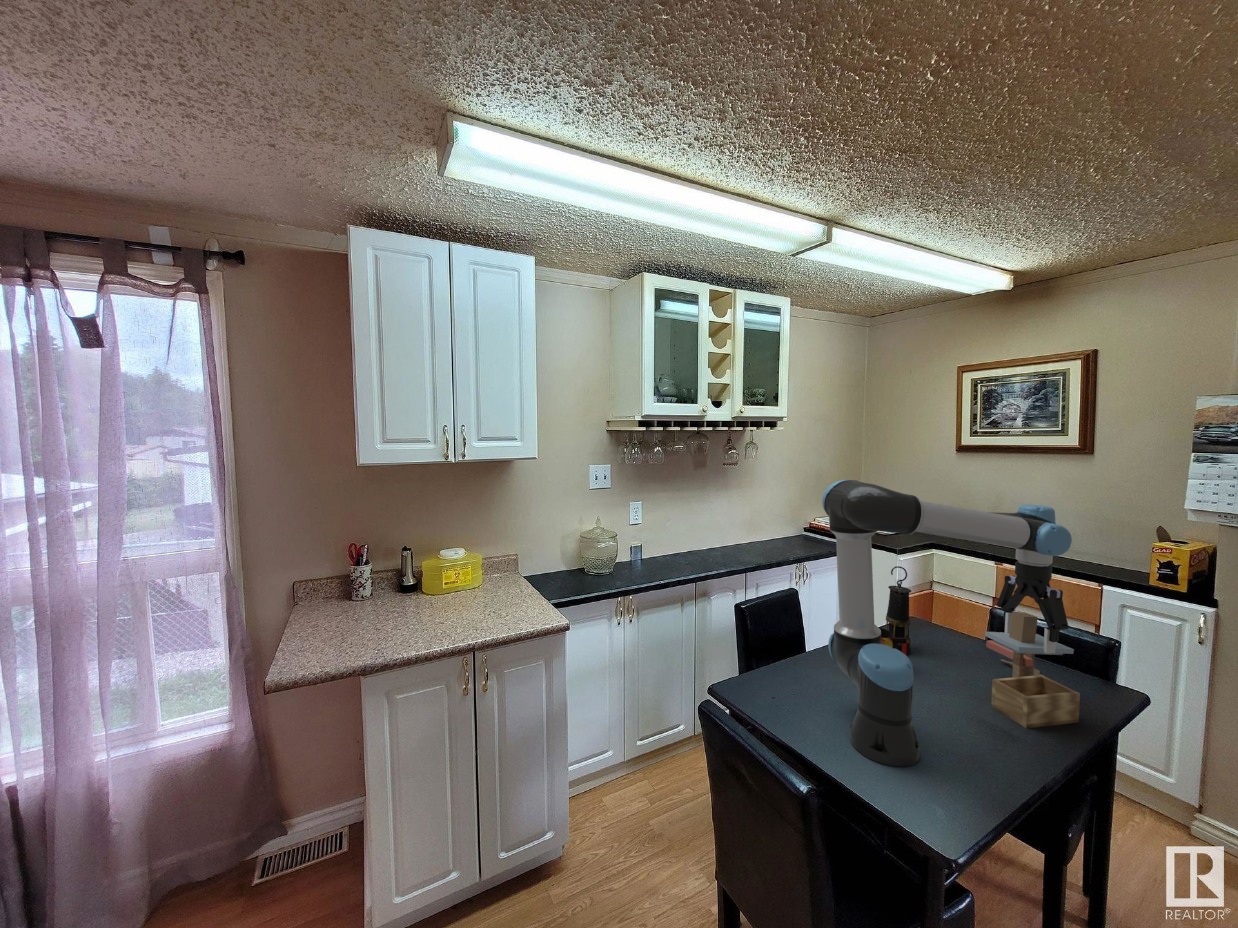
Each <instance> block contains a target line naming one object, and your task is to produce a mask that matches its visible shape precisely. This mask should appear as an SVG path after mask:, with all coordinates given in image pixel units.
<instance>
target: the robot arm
mask: <svg viewBox="0 0 1238 928" xmlns="http://www.w3.org/2000/svg"><path fill="white" fill-rule="evenodd" d="M821 504H822V508H823V510H824V512H825V513H826V515H827V516H828V521H829V532H831V533H832V534H833V535H834V537H835V539H836V540H835V543H836V544H835V545H836V566H837V567H836V569H837V591H838V593H837V594H838V615H839V620H838V621H837V622H836V623H835V624H834V625H833V633H832V634H830V636H829V638H828V644H827V645H828V652H829V655H830V657H831V659H832V660H833V662H834V663H835V666H837V668H839V669H840V670H841V671H842V672H843V673H844V674H845V675H846V676H847V677H848V679H849V680H851V681H852V682H853V684H854V685H855V686H856V687H857V691H858V692H857V711H856V713H855V716H854V719H853V722H852V723H851V724H850V728H849V741H850V743H851V745H852V746H853V748H854V749H856V751H858V752H859V754H861V755H862V756H864V757H867V759H870V760H872V761H875V762H876V763H879V764H883V765H886V766H892V767H909V766H913V765H915V764H916V763H918V762H919V760H920V756H921V755H920V753H921V752H920V751H921V750H920V743H919V741H918V740H919V739H918V738H917V734H916V731H915V728H914V725H913V699H914V698H913V697H914V695H913V693H914V682H915V675H914V666H913V663H912V661H911V660H910V658H909V657H908V655H907V656H906V655H905V654H904V653H902V652H901V651H899V650H897V649H892V648H891V647H890V646H887V645H883V644H882V642H881V630H880V629H879V628H880V627H879V628H878V626H877V624H875V608H874V607H875V605H874V579H873V576H874V575H873V553H872V552H873V551H872V549H873V548H872V537H873V536H874V535H875V534H876V533H877V532H882V533H883V532H886V533H894V534H902V535H913V534H914V533H923V534H927V535H928V534H929V535H935V536H940V537H945V538H952V539H957V540H958V539H959V540H966V541H969V542H975V543H982V544H986V545H987V544H988V545H989V544H990V545H994V546H995V545H996V546H1000V547H1006V548H1012V549H1015V560H1017V561H1015V563H1014V575H1004V584H1003V587H1002V589H1001V592H1000V595H999V597H998V599H997V601H996V602H997V603H996V606H997V607H998V608H1000V609H1002V611H1003V618H1002V619H1003V620H1002V621H1003V623H1004V633H1010V626H1011V618H1012V612H1015V611H1016V608H1017V607H1018V606H1019V605H1020V604H1021V602H1022V601H1023V600H1024V598H1026V597H1029V598H1031V599H1032V600H1034V602H1035V603H1036V604H1037V605H1038V608H1039V610H1040V612H1041V614H1042V616H1043V619H1044V621H1045V623H1046V625H1047V627H1044V633H1043V634H1044V635H1043V637H1044V647H1043V652H1044V653H1046V654H1045V655H1048V654H1047V653H1055V647H1056V642H1057V643H1059V641H1060V639H1059V638H1060V631H1064V630H1069V628H1070V627H1069V622H1068V619H1067V614H1066V611H1065V605H1064V601H1063V595H1064V591H1063V590H1062V589H1056V588H1052V587H1051V585H1050V581H1051V580H1052V578H1053V577H1052V576H1053V566H1052V564H1053V558H1054V557H1058V556H1062V555H1064V554H1065V553H1066V552H1068V551H1069V549H1070V548H1071V546H1072V541H1073V539H1072V538H1073V537H1072V533H1071V532H1070V531H1069V530H1068V529H1067V528H1066V527H1064V526H1062V525H1060V524H1057V522H1056V511H1055V509H1054V508H1053V507H1051V506H1048V505H1039V504H1020V505H1019V506H1018V510H1017V512H990V511H985V510H984V511H982V510H976V509H972V508H964V507H959V506H952V505H948V504H942V503H935V502H931V501H930V502H929V501H923V500H921V499H920V498H919V497H918V496H917V495H915V494H907V493H902V492H899V491H896V490H892V489H890V488H887V487H883V486H880V485H877V484H874V483H870V482H869V483H867V482H863V481H859V480H857V479H840V480H837V481H834V482H833V483H831V484H830V485H829V486H828V487H827V489H825V491H824V492H823V495H822V499H821ZM1015 575H1016V576H1015ZM1016 586H1017V587H1016Z"/></svg>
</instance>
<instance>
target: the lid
mask: <svg viewBox="0 0 1238 928" xmlns="http://www.w3.org/2000/svg"><path fill="white" fill-rule="evenodd" d="M1037 626H1038V616H1036V615H1033V614H1030V613H1027V612H1019V611H1012V618H1011V626H1010V633H1005V632H1001V631H999V632H997V631H985V634H984V636H985V637H986V638H989V639H990V640H993V641H994V642H995V643H997V644H999V645H1002V646H1004V647H1006V648H1008V649H1010V650H1012V651H1014V652H1016V653H1024V655H1025V654H1035V655H1050V656H1052V655H1054V656H1055V655H1056V656H1063V655H1065V654H1068V655H1074V651H1075V649H1074V648H1072V647H1069V646H1067V645H1065V644H1062V643H1059V642H1056V647H1055V653H1047V654H1046V653H1044V652H1043V647H1044V635H1043V636H1042V635H1041V634H1038V633H1037Z"/></svg>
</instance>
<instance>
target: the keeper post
mask: <svg viewBox="0 0 1238 928" xmlns="http://www.w3.org/2000/svg"><path fill="white" fill-rule="evenodd" d="M1024 655H1025V656H1027V657H1029V658H1032V659H1033V666H1025V665H1023V657H1024ZM1035 657H1036V654H1024V653H1016V652H1014V651H1013V660H1012V662H1013V666H1012V677H1024V676H1034V669H1035V662H1036V660H1035V659H1036V658H1035ZM1012 677H1011V678H1012Z"/></svg>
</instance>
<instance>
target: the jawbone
mask: <svg viewBox="0 0 1238 928" xmlns="http://www.w3.org/2000/svg"><path fill="white" fill-rule="evenodd" d="M1000 661H1001V662H1004V663H1007V664H1009V665H1010V666H1011V667H1013V661H1008V660H1004V659H1002V658H1001V659H1000ZM1035 675H1042V674H1041V671H1040V670H1039V669H1037V668H1034V676H1035Z"/></svg>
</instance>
